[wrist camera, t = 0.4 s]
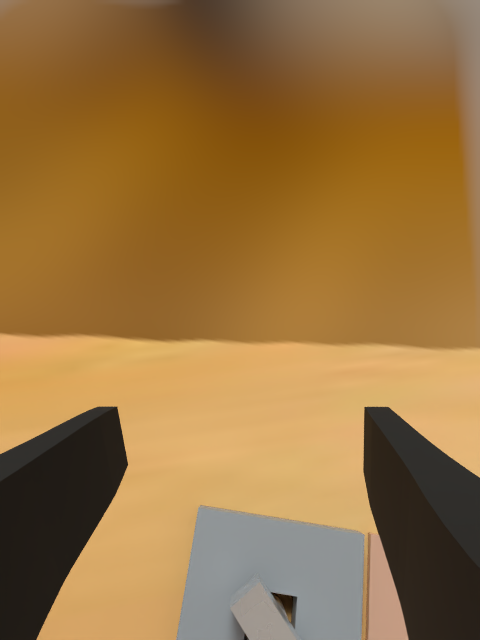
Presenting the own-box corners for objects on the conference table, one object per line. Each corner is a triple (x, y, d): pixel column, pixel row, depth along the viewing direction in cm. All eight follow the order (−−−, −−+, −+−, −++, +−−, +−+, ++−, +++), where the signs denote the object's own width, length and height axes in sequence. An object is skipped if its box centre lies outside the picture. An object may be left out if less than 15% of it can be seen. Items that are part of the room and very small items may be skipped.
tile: (469, 726, 29) (473, 731, 28) (364, 707, 29) (366, 712, 29) (460, 547, 33) (464, 549, 33) (368, 532, 33) (370, 533, 33)
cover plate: (349, 738, 29) (357, 758, 27) (167, 704, 29) (162, 721, 27) (357, 530, 34) (364, 534, 32) (200, 505, 34) (198, 507, 32)
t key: (308, 642, 31) (324, 682, 25) (283, 666, 30) (294, 713, 24) (255, 561, 33) (259, 582, 27) (230, 582, 32) (230, 608, 26)
